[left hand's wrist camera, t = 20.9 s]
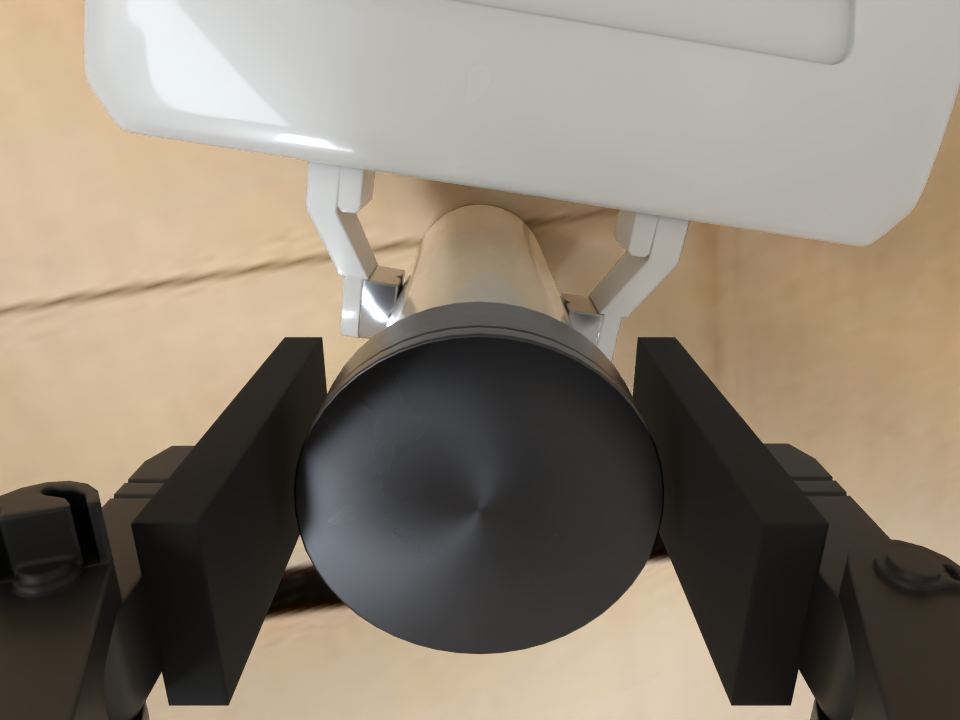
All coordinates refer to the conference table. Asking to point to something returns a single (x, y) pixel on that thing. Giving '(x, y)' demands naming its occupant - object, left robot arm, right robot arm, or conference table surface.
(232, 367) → the conference table surface
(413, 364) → the lid
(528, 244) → the jar
